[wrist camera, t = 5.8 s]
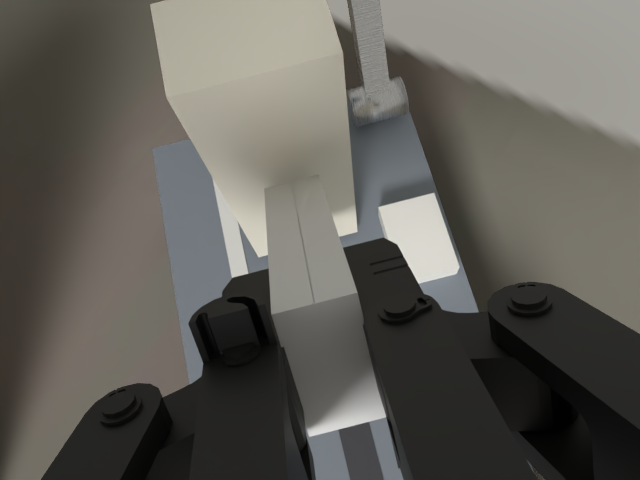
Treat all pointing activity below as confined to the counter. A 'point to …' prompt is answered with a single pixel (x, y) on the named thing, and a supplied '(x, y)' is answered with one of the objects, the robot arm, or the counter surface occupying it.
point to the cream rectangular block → (260, 99)
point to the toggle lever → (373, 69)
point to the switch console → (372, 223)
